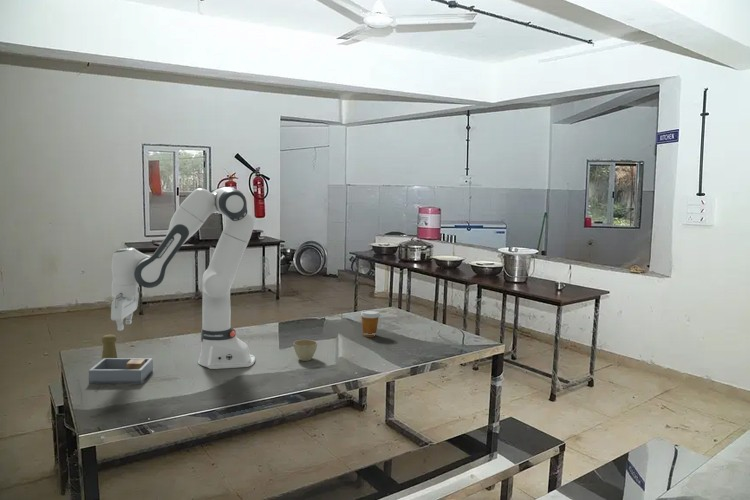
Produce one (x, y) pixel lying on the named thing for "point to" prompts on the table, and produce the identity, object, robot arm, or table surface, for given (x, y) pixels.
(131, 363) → the tan cube
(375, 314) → the disposable coffee cup
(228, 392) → the table surface
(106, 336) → the cork
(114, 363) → the tote
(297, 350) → the flower pot
